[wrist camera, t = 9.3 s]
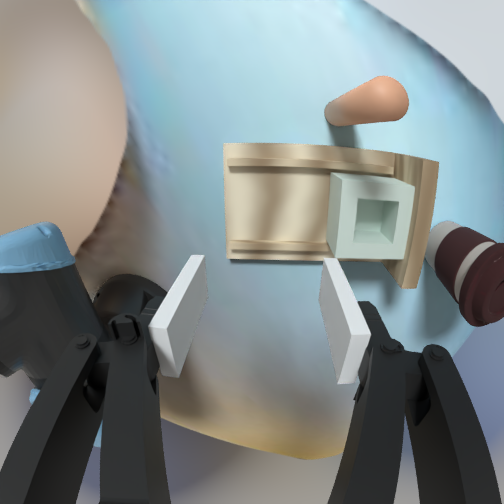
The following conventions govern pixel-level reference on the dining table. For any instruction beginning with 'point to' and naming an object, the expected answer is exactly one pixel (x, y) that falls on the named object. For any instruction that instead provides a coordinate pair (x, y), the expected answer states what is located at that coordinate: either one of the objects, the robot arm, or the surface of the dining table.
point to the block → (368, 216)
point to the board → (314, 201)
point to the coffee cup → (469, 270)
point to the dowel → (369, 103)
